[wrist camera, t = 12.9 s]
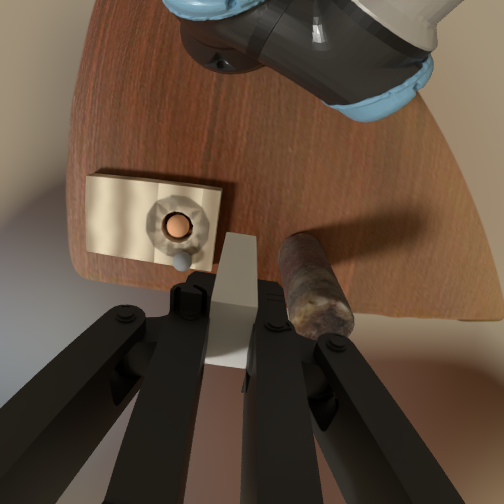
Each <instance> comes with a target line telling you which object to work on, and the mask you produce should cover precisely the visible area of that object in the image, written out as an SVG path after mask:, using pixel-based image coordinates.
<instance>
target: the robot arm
mask: <svg viewBox="0 0 504 504" xmlns="http://www.w3.org/2000/svg"><path fill="white" fill-rule="evenodd" d="M462 1H463V0H163V2H164V4H165V5H166V7H167V8H169V10H170V11H171V12H173V14H174V15H175V16H176V17H177V19H178V20H179V21H180V22H181V26H180V33H181V39H182V42H183V45H184V47H185V49H186V51H187V52H188V53H189V55H190V56H191V57H192V58H193V59H194V60H195V61H196V62H197V63H198V64H200V65H201V66H203V67H205V68H206V69H209V70H211V71H214V72H217V73H222V74H241V73H247V72H250V71H253V70H256V69H258V68H260V67H262V66H263V65H266V66H268V67H269V68H271V69H273V70H275V71H276V72H278V73H280V74H281V75H283V76H285V77H286V78H288V79H290V80H291V81H293V82H295V83H296V84H298V85H299V86H301V87H302V88H304V89H306V90H307V91H309V92H310V93H312V94H313V95H315V96H316V97H318V98H319V99H321V101H322V102H323V103H324V104H325V105H327V106H329V107H331V108H334V109H337V110H338V111H340V112H341V113H343V114H344V115H346V116H347V117H349V118H350V119H352V120H355V121H358V122H373V121H377V120H380V119H383V118H385V117H387V116H389V115H391V114H393V113H395V112H396V111H398V110H399V109H401V108H402V107H404V106H405V105H406V104H407V103H409V102H410V101H411V100H412V99H413V98H414V97H415V96H416V91H417V90H419V89H421V88H423V87H424V86H425V84H426V83H427V82H428V80H429V78H430V77H431V74H432V71H433V59H432V57H431V54H430V53H431V52H432V51H433V50H434V49H435V48H436V47H437V32H436V25H437V23H438V22H439V21H441V19H443V18H444V17H445V16H446V15H447V14H448V13H450V12H451V11H452V10H453V9H454V8H455V7H457V5H459V4H460V3H461V2H462ZM204 363H208V364H215V365H222V366H229V367H237V368H245V367H246V363H247V368H246V373H245V378H244V382H243V387H242V391H241V392H243V393H244V400H243V431H242V461H241V493H240V494H241V495H240V504H323V497H322V490H321V483H320V476H319V469H318V462H317V455H316V449H315V443H314V436H313V433H314V435H315V438H316V440H317V442H318V444H319V446H320V448H321V450H322V453H323V455H324V457H325V459H326V461H327V463H328V465H329V468H330V470H331V472H332V474H333V476H334V478H335V480H336V482H337V485H338V487H339V489H340V491H341V493H342V495H343V497H344V499H345V501H346V503H347V504H465V502H464V501H463V499H462V498H461V496H460V495H459V493H458V492H457V490H456V489H455V487H454V486H453V484H452V483H451V481H450V480H449V478H448V477H447V475H446V474H445V472H444V471H443V469H442V468H441V466H440V465H439V464H438V462H437V460H436V459H435V457H434V456H433V455H432V453H431V452H430V450H429V449H428V448H427V446H426V445H425V443H424V441H423V440H422V439H421V437H420V436H419V434H418V433H417V431H416V430H415V429H414V427H413V426H412V424H411V423H410V421H409V420H408V419H407V417H406V416H405V414H404V413H403V411H402V410H401V409H400V407H399V406H398V404H397V403H396V402H395V400H394V399H393V398H392V396H391V395H390V393H389V392H388V390H387V389H386V388H385V386H384V385H383V383H382V382H381V381H380V379H379V378H378V376H377V375H376V374H375V372H374V371H373V370H372V368H371V367H370V365H369V364H368V363H367V361H366V360H365V359H364V357H363V356H362V354H361V353H360V352H359V350H358V349H357V348H356V346H355V345H354V343H353V342H351V340H350V339H349V338H347V337H345V336H343V335H341V334H338V333H330V332H328V333H323V334H321V335H320V336H319V337H318V339H317V341H316V340H313V339H310V338H306V337H304V336H301V335H300V334H298V333H296V330H295V327H294V325H293V323H292V322H290V321H289V320H288V316H287V309H286V303H285V298H284V292H283V288H282V287H281V286H280V285H279V284H278V282H273V281H266V280H259V279H257V252H256V236H251V235H244V234H238V233H231V232H226V237H225V241H224V245H223V249H222V254H221V258H220V262H219V267H218V271H217V274H212V273H205V272H199V271H194V272H193V273H191V274H190V275H189V276H188V278H187V280H186V282H185V283H179V284H177V285H174V286H173V287H172V288H171V290H170V311H169V314H168V315H165V316H162V317H148V318H147V317H145V313H144V311H143V310H142V309H140V308H138V307H137V306H133V305H119V306H115V307H113V308H111V309H110V310H109V311H107V312H106V313H105V314H104V315H103V316H101V317H100V318H99V319H98V320H97V321H96V322H94V323H93V324H92V325H91V326H90V327H89V328H87V329H86V330H85V331H84V332H83V333H82V334H81V335H80V336H78V337H77V338H76V339H75V340H74V341H73V342H72V343H70V344H69V345H68V346H67V347H66V348H65V349H64V350H63V351H61V352H60V353H59V354H58V355H57V356H56V357H55V358H54V359H53V360H52V361H51V362H49V363H48V364H47V365H46V366H45V367H44V368H43V369H42V370H40V371H39V372H38V373H37V374H36V375H35V376H34V377H33V378H32V379H31V380H30V381H29V382H28V383H26V385H24V387H22V388H21V389H20V390H19V391H18V392H17V393H16V394H15V395H14V396H13V397H12V398H11V399H10V400H9V401H8V402H7V403H6V404H4V405H3V406H2V407H1V408H0V504H55V503H56V502H57V500H58V499H59V498H60V496H61V495H62V494H63V492H64V491H65V490H66V488H67V487H68V485H69V484H70V483H71V481H72V480H73V479H74V477H75V476H76V474H77V473H78V472H79V470H80V469H81V468H82V466H83V465H84V464H85V462H86V461H87V460H88V458H89V457H90V455H91V454H92V453H93V451H94V450H95V448H96V447H97V446H98V444H99V443H100V442H101V441H102V439H103V438H104V436H105V435H106V434H107V432H108V431H109V430H110V428H111V427H112V426H113V424H114V423H115V422H116V420H117V419H118V418H119V416H120V415H121V413H122V412H123V411H124V409H125V408H126V407H127V405H128V404H129V403H130V401H131V400H132V399H133V397H134V396H135V395H136V393H137V392H138V391H139V389H140V391H139V394H138V397H137V400H136V402H135V405H134V408H133V411H132V414H131V417H130V420H129V423H128V426H127V429H126V432H125V435H124V438H123V441H122V445H121V447H120V451H119V453H118V457H117V460H116V463H115V466H114V470H113V473H112V476H111V480H110V483H109V486H108V489H107V493H106V496H105V499H104V501H103V502H102V504H183V503H184V495H185V488H186V481H187V474H188V467H189V461H190V454H191V447H192V441H193V435H194V427H195V422H196V415H197V409H198V403H199V397H200V391H201V385H202V379H203V373H204Z"/></svg>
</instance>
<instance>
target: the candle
mask: <svg viewBox="0 0 504 504" xmlns="http://www.w3.org/2000/svg"><path fill="white" fill-rule="evenodd" d="M278 262H279V267H280V272H281V277H282V282H283V286H284V292H285V297H286V302H287V308H288V312H289V318H290V322H292V323H293V325H294V327H295V330H296V333H298V334H300V335H301V336H304V337H306V338H310V339H313V340H316V341H317V339H318V337H319V336H320V335H321V334H323V333H328V332H330V333H338V334H341V335H343V336H345V337H347V338H348V336H349V335H350V334H351V332H352V331H353V327H354V316H353V313H352V311H351V308H350V306H349V304H348V302H347V299H346V297H345V295H344V293H343V291H342V289H341V287H340V285H339V283H338V281H337V278H336V276H335V274H334V272H333V270H332V268H331V266H330V264H329V261H328V259H327V257H326V255H325V253H324V251H323V249H322V247H321V245H320V243H319V241H318V240H317V239H316V238H315V237H314V236H312V235H310V234H307V233H300V234H296V235H293V236H290V237H288V238H287V239H286V240H285V241H284V242H283V243H282V245H281V247H280V249H279V254H278Z"/></svg>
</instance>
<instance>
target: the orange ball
mask: <svg viewBox="0 0 504 504" xmlns="http://www.w3.org/2000/svg"><path fill="white" fill-rule="evenodd" d="M167 230H168V232H169V233H170V234H171V235H172V236H174V237H182V236H184V235H185V234H186V233H187V232H188V230H189V222H188V220H187V218H186V217H184V216H182V215H174V216H172V217H171V218H170V219H169V220H168V223H167Z"/></svg>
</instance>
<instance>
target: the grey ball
mask: <svg viewBox="0 0 504 504" xmlns="http://www.w3.org/2000/svg"><path fill="white" fill-rule="evenodd" d="M173 265H174V267H175V268H176V269H177V270H179V271H186V270H188V269H189V268H190V267H191V265H192V258H191V256H190V255H189V254H188V253H186V252H178V253H177V254H175V256H174V257H173Z"/></svg>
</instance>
